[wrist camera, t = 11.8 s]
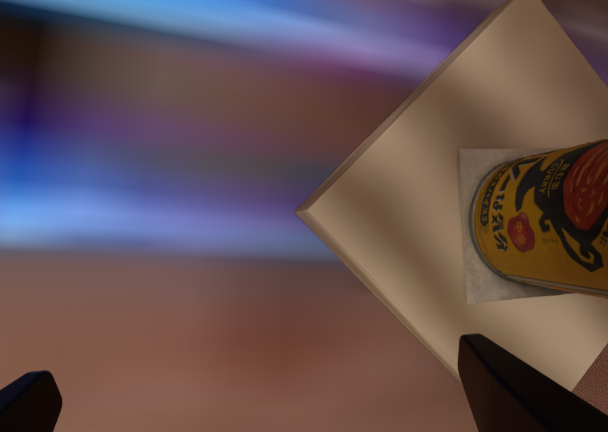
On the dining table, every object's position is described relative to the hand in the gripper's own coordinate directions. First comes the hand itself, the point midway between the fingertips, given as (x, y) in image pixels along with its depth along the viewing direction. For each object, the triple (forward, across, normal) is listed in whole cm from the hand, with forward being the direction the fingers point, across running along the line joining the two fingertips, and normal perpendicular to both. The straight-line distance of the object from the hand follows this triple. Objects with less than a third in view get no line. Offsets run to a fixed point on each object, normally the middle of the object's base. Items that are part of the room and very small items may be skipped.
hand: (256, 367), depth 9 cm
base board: (+14, -12, +3) cm, 19 cm away
